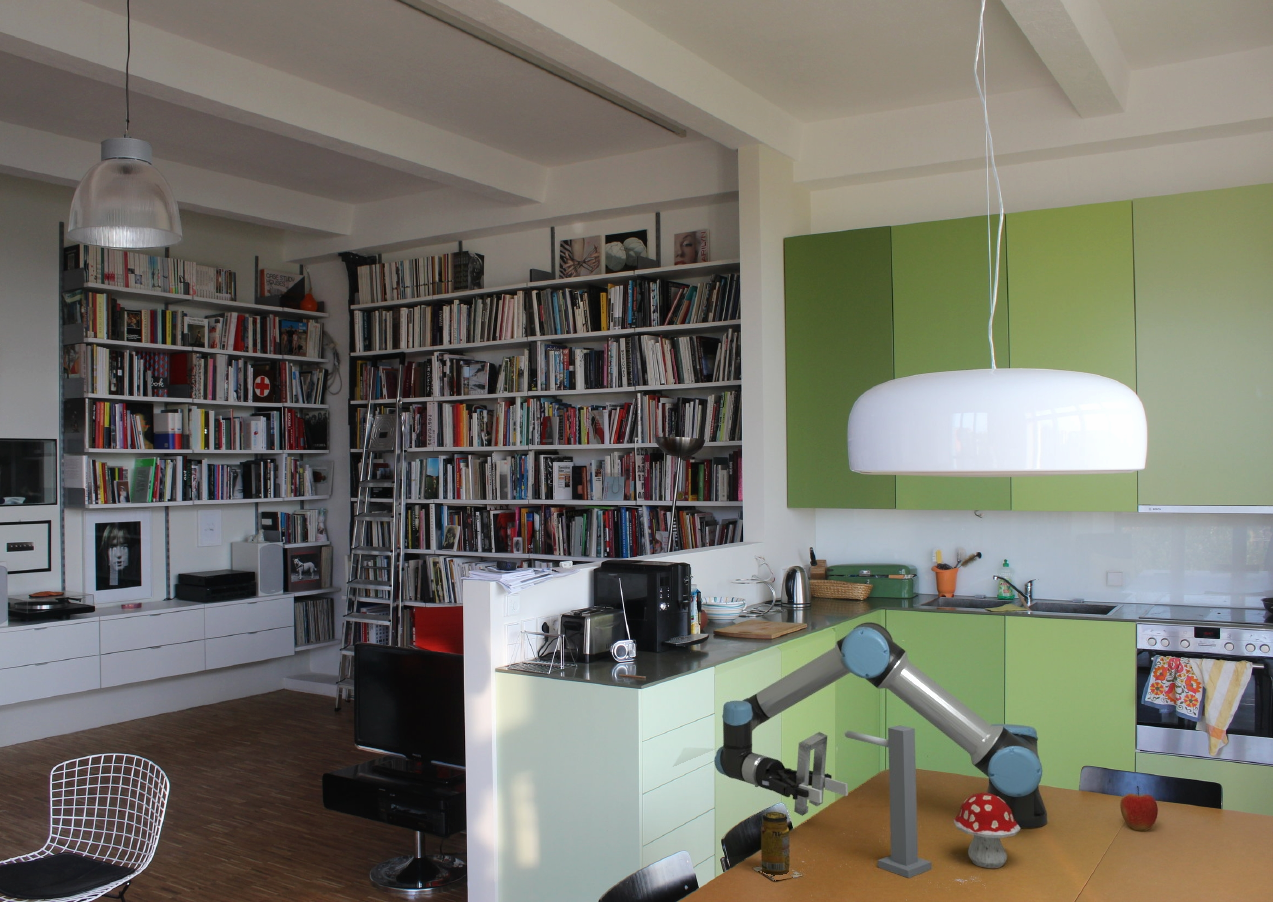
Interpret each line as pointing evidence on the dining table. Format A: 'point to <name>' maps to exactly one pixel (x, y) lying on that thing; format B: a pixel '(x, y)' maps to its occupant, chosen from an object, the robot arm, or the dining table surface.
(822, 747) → the c link
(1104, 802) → the dining table surface
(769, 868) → the condiment
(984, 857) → the decorative mushroom
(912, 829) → the hook stand
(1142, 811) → the apple
